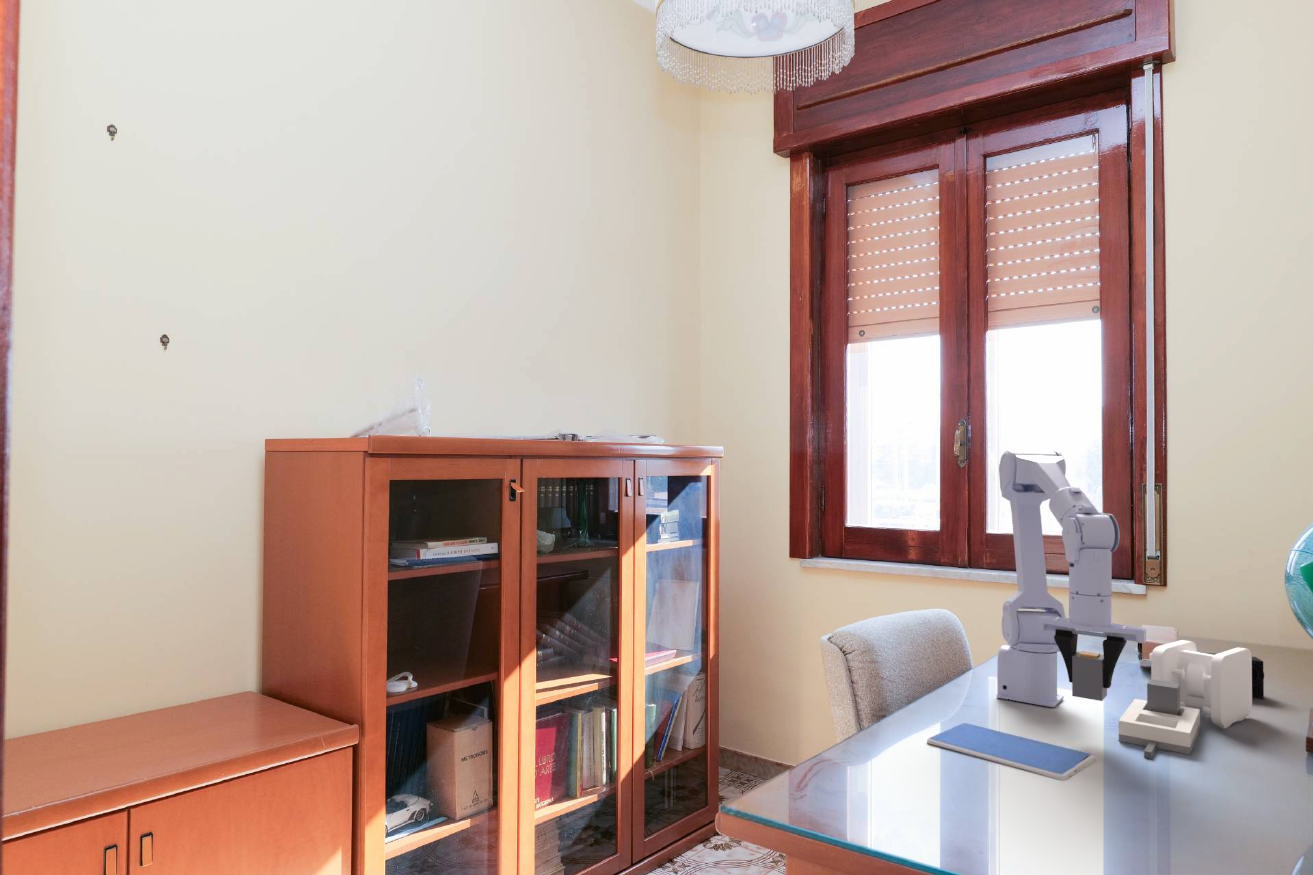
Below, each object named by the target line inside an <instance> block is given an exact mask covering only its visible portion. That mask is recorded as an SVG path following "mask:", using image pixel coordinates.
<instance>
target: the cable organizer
mask: <svg viewBox="0 0 1313 875" xmlns="http://www.w3.org/2000/svg"><path fill="white" fill-rule="evenodd" d="M1200 652H1201V651H1198V647H1197V645H1196V643H1195V642H1194V641H1191V640H1185V639H1180V640H1176V641H1173V642H1168V643H1165V644H1160V645H1158V646H1155V648H1153V650H1152V652H1150V653H1149V654H1148V657H1149V658H1148V659H1149V662H1151V664H1150V665H1151V669H1150V672H1151V679H1153V680H1160V681H1167V682H1173V683H1180V706H1183V707H1189V708H1195V709H1200V710H1202V711H1203V713H1202V715H1203V716H1204V715H1205V716H1204V717H1206V713H1207V714H1210V718H1211V722H1212V723H1213V724H1214V725H1217V726H1219V728H1221V729H1227V728H1229V727H1230V726H1231V725H1232V724H1234V723H1236V722H1237V723H1238V722H1241V721H1243V720H1245V719H1246V717H1248V716H1250V714H1251V712H1252V707H1253V698H1252V657H1253V656H1252V652H1251V651H1250V649H1249V648H1246V647H1235V648H1231V649H1228V650H1225V651H1222V652H1219V653H1215V655H1212V654H1206V653H1207V652H1202V653H1200Z"/></svg>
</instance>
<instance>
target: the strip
mask: <svg viewBox="0 0 1313 875" xmlns="http://www.w3.org/2000/svg"><path fill="white" fill-rule="evenodd" d="M1146 684H1147V686H1146V688H1147V690H1146V693H1147V694H1146V695H1147V697H1146V700H1145V699H1138V698H1134V699H1133V701H1132V702H1131V703H1130V704H1129V706H1128V707H1127V709H1126V710H1125V711H1124V713H1123V714H1122V716H1121V717H1120V718H1119V720H1118V741H1119V742H1123V743H1128V744H1133V745H1138V746H1139V745H1140V746H1144V747H1145V749H1144V751H1143V758H1145V759H1150V760H1152V759H1153V758H1154V755H1155V753H1156V751H1157V749H1160V750H1165V751H1170V752H1176V753H1181V754H1186V755H1191V753H1192V750H1193V748H1194V745H1195V742H1196V740H1197V737H1198V734H1199V732H1200V730H1201V709H1197V708H1193V707H1183V706H1180V683H1173V682H1167V681H1160V680H1153V679H1150V680H1149V681H1148V682H1147V683H1146Z"/></svg>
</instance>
